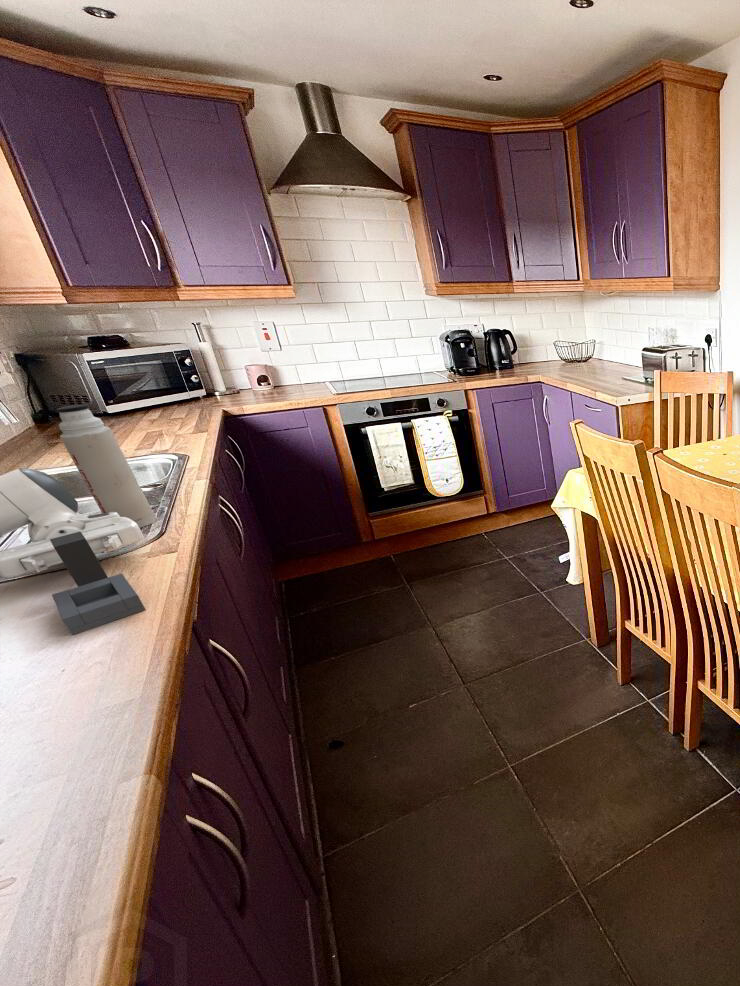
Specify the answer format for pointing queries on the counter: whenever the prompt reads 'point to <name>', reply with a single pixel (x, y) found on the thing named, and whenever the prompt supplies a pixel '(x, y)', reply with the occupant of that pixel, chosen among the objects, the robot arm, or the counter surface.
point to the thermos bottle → (103, 465)
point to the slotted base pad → (97, 603)
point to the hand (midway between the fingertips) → (76, 556)
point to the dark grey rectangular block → (78, 558)
